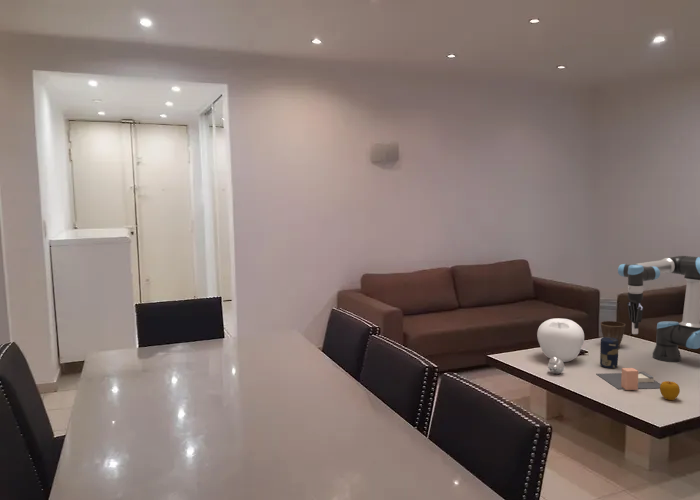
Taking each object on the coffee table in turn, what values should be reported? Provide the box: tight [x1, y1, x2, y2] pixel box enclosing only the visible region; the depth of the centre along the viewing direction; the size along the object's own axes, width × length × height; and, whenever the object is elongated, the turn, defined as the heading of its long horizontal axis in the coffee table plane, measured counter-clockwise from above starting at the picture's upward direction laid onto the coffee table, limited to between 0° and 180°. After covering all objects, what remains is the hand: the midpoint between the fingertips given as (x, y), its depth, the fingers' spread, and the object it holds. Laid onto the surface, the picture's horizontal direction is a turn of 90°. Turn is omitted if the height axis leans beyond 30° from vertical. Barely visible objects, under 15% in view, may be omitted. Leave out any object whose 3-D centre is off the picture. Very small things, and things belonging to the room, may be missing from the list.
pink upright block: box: [621, 367, 639, 391], centre depth 273 cm, size 6×5×10 cm
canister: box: [599, 337, 619, 369], centre depth 309 cm, size 10×10×18 cm
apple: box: [659, 380, 681, 401], centre depth 259 cm, size 9×8×9 cm
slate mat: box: [596, 372, 661, 390], centre depth 285 cm, size 26×24×1 cm
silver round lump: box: [547, 357, 566, 375], centre depth 299 cm, size 9×10×10 cm
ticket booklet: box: [638, 371, 655, 383], centre depth 285 cm, size 14×9×3 cm, turn 91°
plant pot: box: [600, 320, 626, 348], centre depth 349 cm, size 15×15×16 cm
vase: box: [536, 317, 585, 363], centre depth 323 cm, size 28×27×25 cm
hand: (635, 333), depth 293 cm, fingers closed
